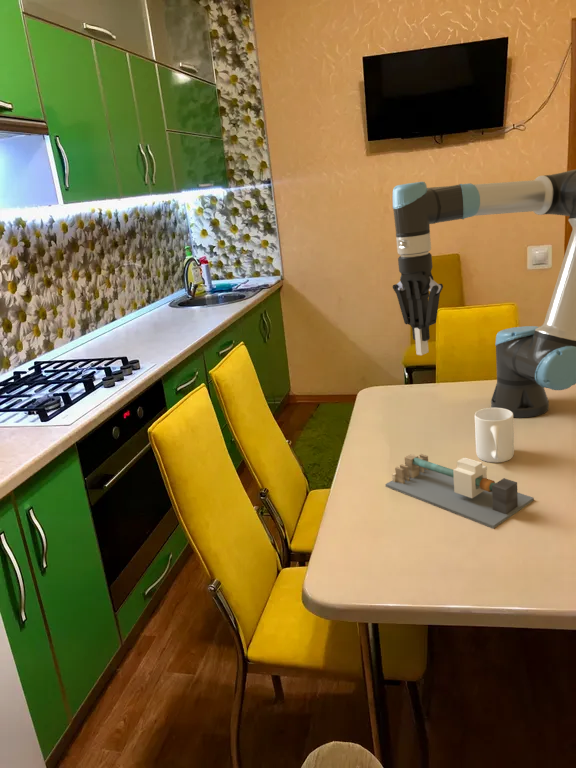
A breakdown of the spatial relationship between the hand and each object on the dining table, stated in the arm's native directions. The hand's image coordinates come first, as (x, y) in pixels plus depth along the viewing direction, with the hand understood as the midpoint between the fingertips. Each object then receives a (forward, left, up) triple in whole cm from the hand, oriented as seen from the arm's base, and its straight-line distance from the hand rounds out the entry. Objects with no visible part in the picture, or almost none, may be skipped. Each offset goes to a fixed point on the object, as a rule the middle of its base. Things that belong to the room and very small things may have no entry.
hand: (422, 353), depth 147 cm
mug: (-6, +15, -26) cm, 30 cm away
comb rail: (+13, +18, -26) cm, 34 cm away
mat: (+13, +18, -26) cm, 34 cm away
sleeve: (+13, +22, -24) cm, 35 cm away
